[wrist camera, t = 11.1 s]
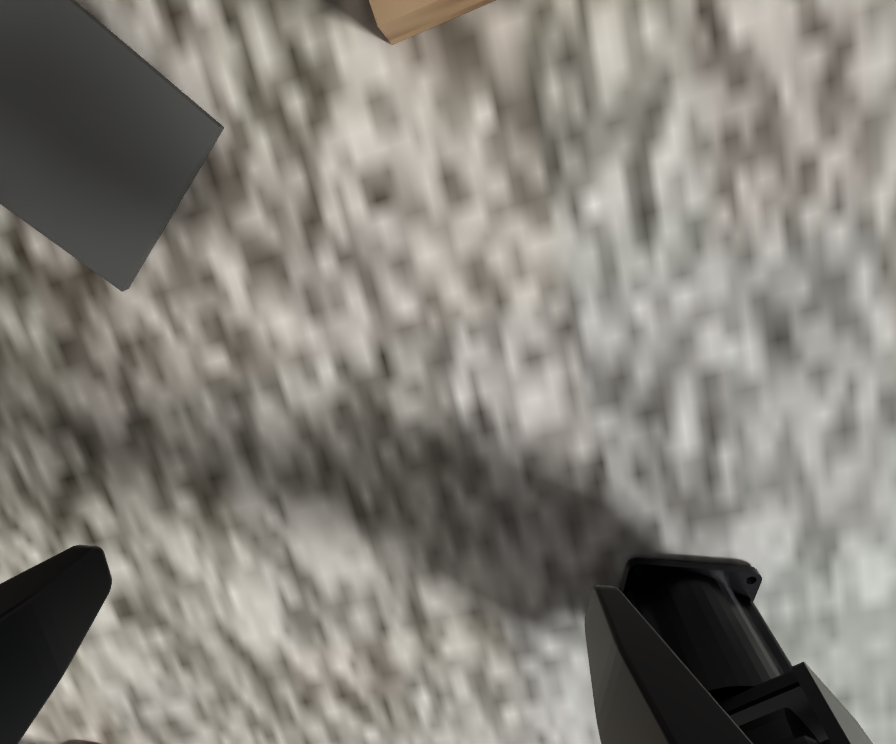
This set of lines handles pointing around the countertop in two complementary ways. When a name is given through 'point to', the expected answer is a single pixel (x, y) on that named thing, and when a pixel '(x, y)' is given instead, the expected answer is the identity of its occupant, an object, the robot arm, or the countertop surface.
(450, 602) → the countertop surface
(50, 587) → the robot arm
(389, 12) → the tray
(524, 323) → the countertop surface
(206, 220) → the countertop surface
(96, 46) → the mat
